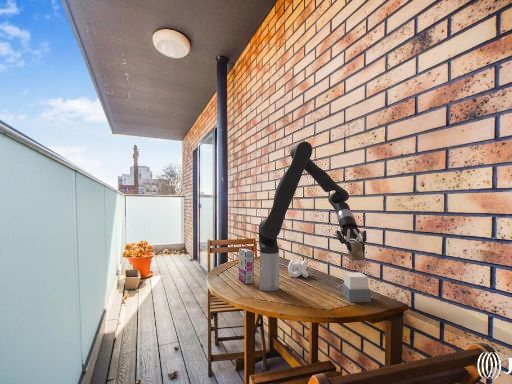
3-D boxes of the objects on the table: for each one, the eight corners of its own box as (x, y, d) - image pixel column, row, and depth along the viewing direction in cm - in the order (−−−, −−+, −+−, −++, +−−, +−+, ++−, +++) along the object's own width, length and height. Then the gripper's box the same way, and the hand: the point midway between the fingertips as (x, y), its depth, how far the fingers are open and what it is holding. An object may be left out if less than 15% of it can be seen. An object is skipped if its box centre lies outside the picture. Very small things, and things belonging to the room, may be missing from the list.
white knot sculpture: (286, 278, 137) (286, 262, 138) (288, 273, 149) (288, 257, 149) (307, 279, 135) (307, 263, 135) (308, 274, 146) (308, 258, 147)
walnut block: (352, 260, 106) (351, 243, 107) (348, 258, 111) (347, 242, 111) (362, 260, 106) (362, 243, 107) (358, 258, 111) (358, 242, 111)
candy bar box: (254, 283, 128) (254, 251, 129) (245, 284, 126) (245, 251, 127) (246, 277, 138) (246, 248, 139) (238, 278, 136) (238, 248, 137)
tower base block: (349, 302, 103) (349, 289, 103) (342, 294, 112) (341, 283, 112) (371, 302, 103) (370, 290, 103) (362, 294, 112) (361, 283, 112)
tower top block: (350, 289, 104) (350, 277, 105) (344, 283, 112) (343, 272, 112) (368, 289, 104) (367, 277, 104) (360, 283, 112) (360, 272, 112)
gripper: (332, 215, 117) (342, 245, 104) (363, 215, 117) (376, 245, 104) (330, 226, 122) (338, 255, 109) (359, 226, 122) (371, 255, 109)
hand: (356, 250), depth 107 cm, fingers closed on walnut block, 4 cm apart
